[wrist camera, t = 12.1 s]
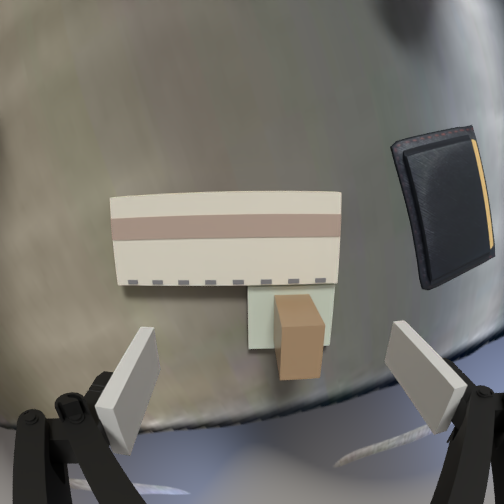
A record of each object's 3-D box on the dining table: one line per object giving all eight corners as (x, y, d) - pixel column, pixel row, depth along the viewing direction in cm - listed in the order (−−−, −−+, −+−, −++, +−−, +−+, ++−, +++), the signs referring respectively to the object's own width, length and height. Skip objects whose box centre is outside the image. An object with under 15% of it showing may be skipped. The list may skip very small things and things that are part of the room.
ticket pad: (124, 279, 36) (117, 285, 34) (116, 196, 34) (109, 198, 31) (332, 277, 36) (337, 283, 34) (336, 191, 34) (341, 192, 32)
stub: (248, 344, 38) (249, 388, 29) (247, 284, 36) (247, 317, 27) (327, 341, 38) (346, 382, 29) (332, 282, 36) (357, 313, 27)
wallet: (393, 140, 31) (480, 123, 31) (386, 141, 33) (471, 124, 32) (422, 297, 36) (500, 261, 35) (416, 292, 38) (492, 257, 37)
